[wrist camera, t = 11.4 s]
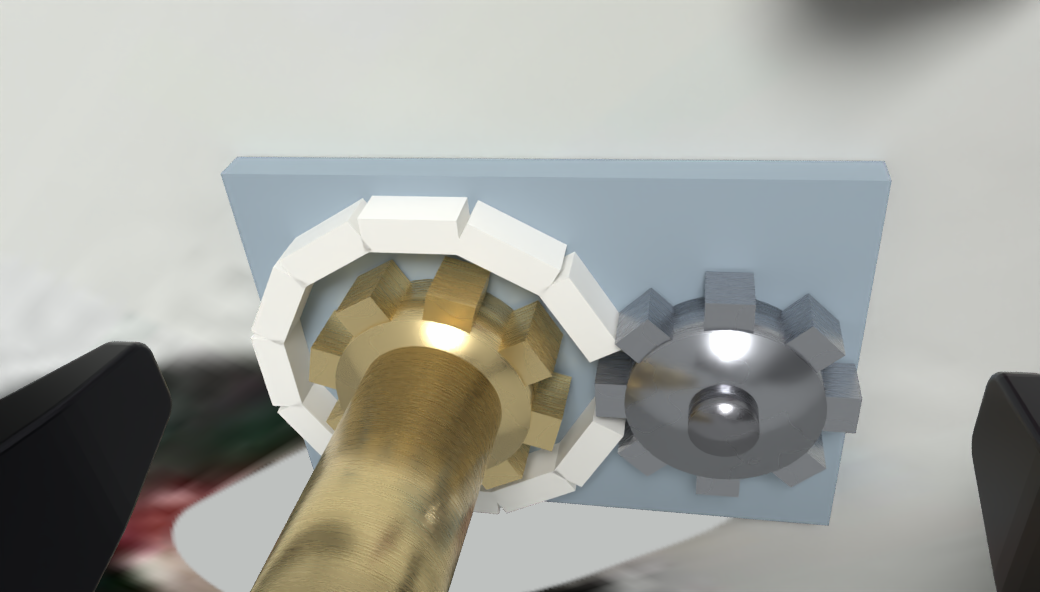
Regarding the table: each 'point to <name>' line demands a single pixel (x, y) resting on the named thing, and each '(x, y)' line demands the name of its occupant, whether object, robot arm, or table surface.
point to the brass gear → (416, 428)
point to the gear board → (562, 280)
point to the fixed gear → (727, 385)
